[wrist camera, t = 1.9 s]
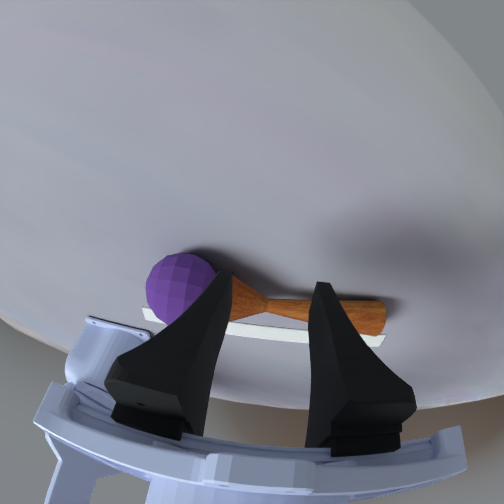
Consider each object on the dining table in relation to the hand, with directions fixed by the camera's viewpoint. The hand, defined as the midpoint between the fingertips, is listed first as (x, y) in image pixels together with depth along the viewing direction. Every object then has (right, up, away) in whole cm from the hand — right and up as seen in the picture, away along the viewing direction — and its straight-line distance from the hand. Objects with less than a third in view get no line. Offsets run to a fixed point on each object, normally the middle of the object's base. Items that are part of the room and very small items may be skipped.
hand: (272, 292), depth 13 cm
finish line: (0, -6, +15) cm, 16 cm away
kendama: (+1, -1, +11) cm, 12 cm away
